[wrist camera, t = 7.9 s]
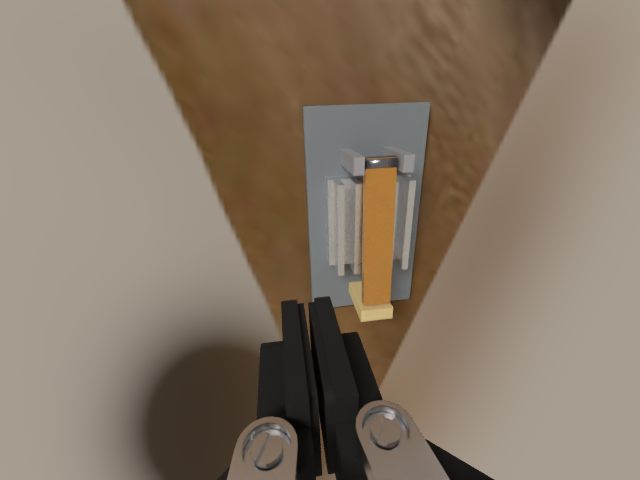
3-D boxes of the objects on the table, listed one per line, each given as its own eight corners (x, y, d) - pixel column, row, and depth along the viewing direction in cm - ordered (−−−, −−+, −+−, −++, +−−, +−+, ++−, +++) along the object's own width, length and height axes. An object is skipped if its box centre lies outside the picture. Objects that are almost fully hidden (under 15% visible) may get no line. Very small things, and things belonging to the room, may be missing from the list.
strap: (362, 156, 29) (366, 157, 28) (393, 154, 29) (398, 155, 28) (361, 300, 34) (364, 306, 33) (387, 297, 35) (390, 303, 33)
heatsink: (325, 176, 33) (331, 185, 29) (405, 171, 34) (421, 180, 30) (327, 259, 37) (332, 276, 33) (399, 253, 38) (412, 268, 34)
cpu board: (302, 106, 31) (309, 106, 24) (425, 102, 32) (463, 101, 26) (312, 304, 41) (319, 341, 34) (406, 294, 42) (430, 328, 36)
